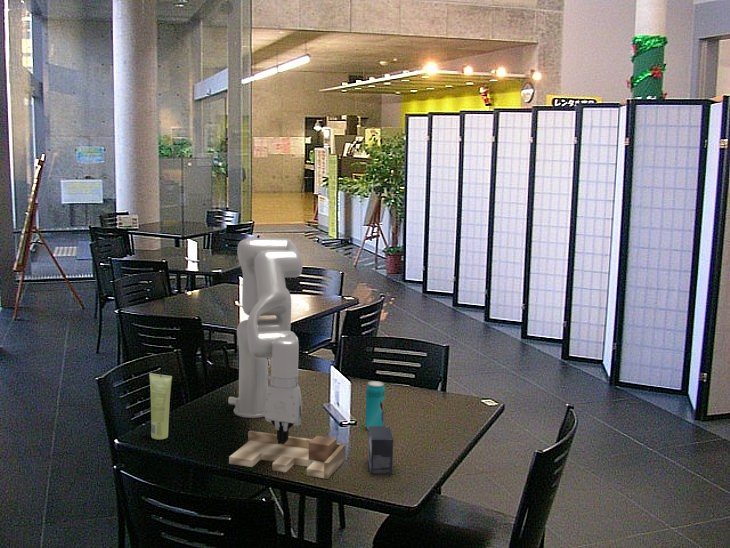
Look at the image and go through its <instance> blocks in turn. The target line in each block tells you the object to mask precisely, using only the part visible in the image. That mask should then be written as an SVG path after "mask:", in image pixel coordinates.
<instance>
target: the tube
mask: <svg viewBox="0 0 730 548" xmlns="http://www.w3.org/2000/svg"><path fill="white" fill-rule="evenodd" d="M148 376H149V386H150V387H149V388H150V389H149V390H150V391H149V392H150V421H151V422H150V424H151V425H150V426H151V427H150V428H151V429H150V436H151V438H152V439H154V440H164V439H167V438H168V437H169V420H170V419H169V418H170V402H171V400H170V399H171V390H172V389H171V388H172V381H173V376H172V375H166V374H165V375H164V374H157V373H152V372H151V373H150V372H149V375H148Z"/></svg>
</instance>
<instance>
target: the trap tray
mask: <svg viewBox="0 0 730 548" xmlns="http://www.w3.org/2000/svg"><path fill="white" fill-rule="evenodd" d="M247 436H248V438H247V442H246V443H244V444H243V445H242V446H241V447H240V448H238V449H237V450H236V451H234V452H233V453H232V454H230V455H229V456H228V464H229V465H235V466H236V465H237V466H241V467H242V466H243V467H249V468H253V467H254V466H255V465H256V464H257V463H259V462H260V461H261V460H262V461H269V462H272V464H271V465H272V467H271V468H272V471H274V472H281V473H287V472H288V471H289V470H290V469H291V468H292V467H293V466H294V465H295V466H302V467H307V468H306V475H305V476H306V477H313V478H318V479H319V478H321V479H326V480H328V479H330V478H331V476H332V475H333V474H334V473H335V472H336V470H338V468H339V467H340V466H341V465H342V463H344V461H345V460H346V452H347V451H346V448H347V444H346V443H339V442H337V448H336V450H335V451H334V453H333V454H332V455H331V456H330V457H329V458H328V459H327V460H326V461H325V462H320V461H314V460H308V457H309V442H310V441H311V440H312V439H313V438H305V437H300V436H299V437H297V436H291V435H289V437H288V441H287V442H285V443H284V444H278V440H277V433H272V432H271V433H270V432H264V431H258V430H257V431H256V430H248V432H247Z"/></svg>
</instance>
